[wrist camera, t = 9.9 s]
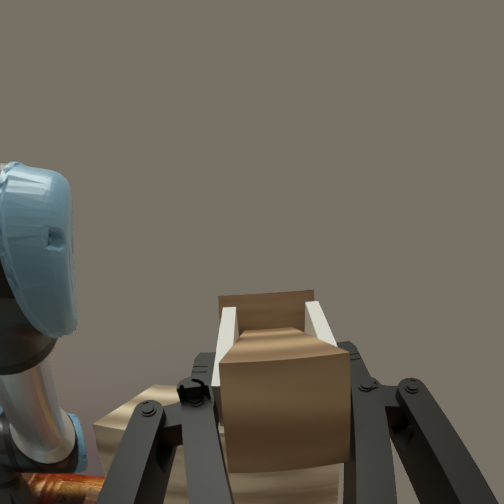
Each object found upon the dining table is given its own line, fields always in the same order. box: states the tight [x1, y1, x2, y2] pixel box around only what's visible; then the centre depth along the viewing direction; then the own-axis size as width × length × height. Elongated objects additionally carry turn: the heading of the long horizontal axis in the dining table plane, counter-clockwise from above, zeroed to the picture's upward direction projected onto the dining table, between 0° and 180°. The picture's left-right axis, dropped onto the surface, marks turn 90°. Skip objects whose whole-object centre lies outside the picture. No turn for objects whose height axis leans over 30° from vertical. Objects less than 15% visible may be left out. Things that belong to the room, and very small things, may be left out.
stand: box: [92, 385, 340, 504], centre depth 27 cm, size 18×22×30 cm
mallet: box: [218, 290, 351, 473], centre depth 21 cm, size 26×8×8 cm, turn 179°
